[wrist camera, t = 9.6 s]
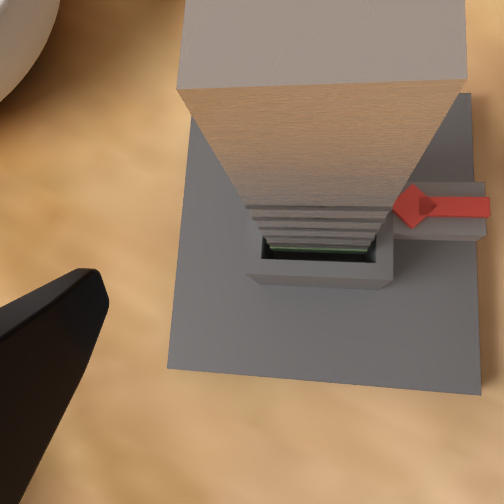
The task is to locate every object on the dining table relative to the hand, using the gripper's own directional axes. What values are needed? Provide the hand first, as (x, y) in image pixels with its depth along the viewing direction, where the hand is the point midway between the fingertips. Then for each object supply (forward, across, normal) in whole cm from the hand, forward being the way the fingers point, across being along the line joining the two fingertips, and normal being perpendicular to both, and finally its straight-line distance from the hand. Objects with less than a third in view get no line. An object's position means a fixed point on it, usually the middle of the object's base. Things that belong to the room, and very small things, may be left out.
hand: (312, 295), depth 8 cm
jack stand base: (+12, 0, +6) cm, 13 cm away
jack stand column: (+8, 0, +2) cm, 9 cm away
